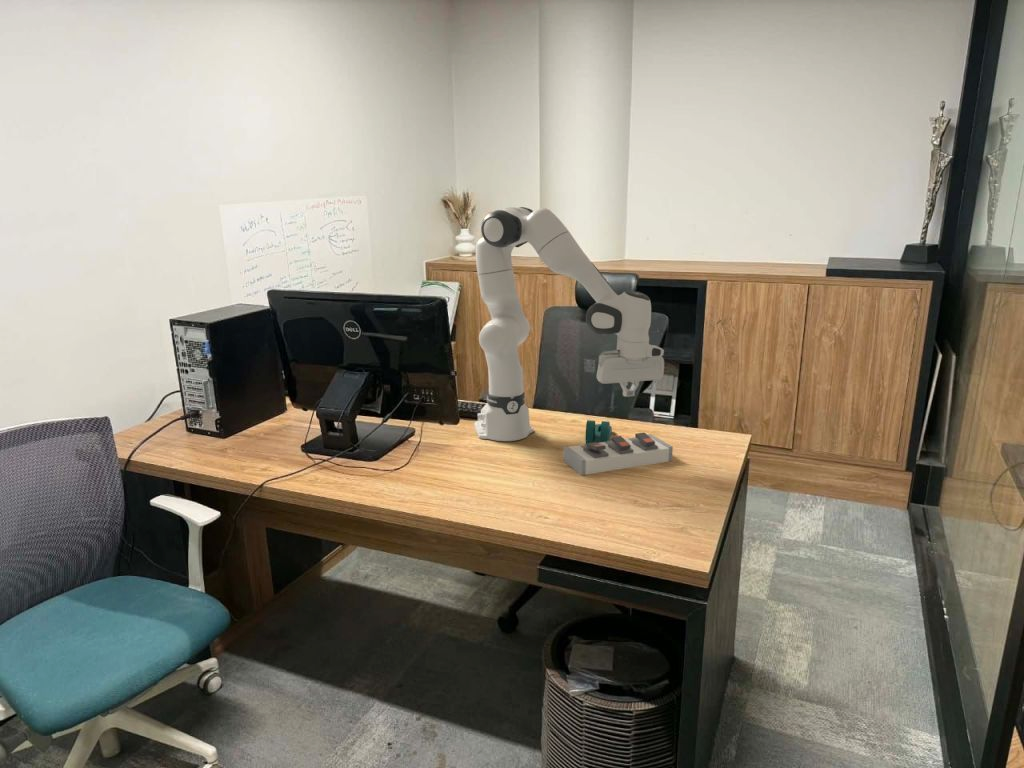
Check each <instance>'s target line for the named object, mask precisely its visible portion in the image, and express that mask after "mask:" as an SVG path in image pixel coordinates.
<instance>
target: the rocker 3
mask: <svg viewBox="0 0 1024 768" xmlns="http://www.w3.org/2000/svg"><path fill="white" fill-rule="evenodd" d="M634 436H635V437H636V438H637V439H638V440H639V441H640V442H642V443H643V444H644V445H645V446H649V445H655V441H654V440H653V439H651V438H650V437H649V436H648V434H647V433H646V432H640V433H639V432H637V433H635V435H634ZM635 437H634V438H635Z"/></svg>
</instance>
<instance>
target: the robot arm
mask: <svg viewBox="0 0 1024 768" xmlns="http://www.w3.org/2000/svg"><path fill="white" fill-rule="evenodd" d="M481 222H482V223H481V228H480V231H481V235H482V237H481V238H479V239H478V240H477V242H476V244H475V265H476V272H477V273H476V274H477V278H478V280H477V281H478V284H479V285H478V286H479V290H480V291H479V292H480V296H481V300H482V301H483V303H484V304H485V305H486V308H487V310H488V313H489V315H490V317H491V319H490V320H489V321H488V322H486V324H484V325H483V327H482V329H481V330H480V332H479V334H478V342H479V346H480V348H481V349H482V350H483V352H484V356H485V360H486V365H487V372H488V391H487V395H486V403H485V404H484V406H483V407H482V408H481V409H480V412H479V413H477V420H476V421H474V425H473V426H474V428H475V431H476V434H477V436H478V439H482V440H483V439H485V440H491V441H497V442H513V441H515V442H516V441H519V440H524V439H526V438H527V437H529V435H530V434H532V433H533V432H534V431H535V430H534V427H532V426H530V425H531V421H530V410H529V407H528V406H527V405H525V404H526V395H525V391H524V368H523V366H522V365H521V362H520V357H519V350H518V349H519V346H520V345H522V344H523V343H524V342H525V341H526V340H527V338H528V336H529V334H530V331H531V324H530V321H529V320H528V318H527V317H526V316H525V313H524V309H523V306H522V304H521V302H520V299H519V298H520V297H519V295H518V291H517V284H516V280H515V273H514V266H513V261H512V252H513V249H514V248H520V247H522V246H523V245H525V244H530V245H531V247H532V248H533V250H535V253H537V255H538V257H539V258H540V259H541V261H542V262H543V264H544V265H545V266H546V267H548V269H549V270H550V271H552V272H553V273H555V274H558V275H563V276H565V277H569V278H572V279H573V280H576V281H577V282H579V283H580V284H581V285H582V286H583V287H584V288H585V290H586V291H587V292H588V293H589V295H590V296H591V297H592V299H593V300H594V301H595V303H592V304H591V305H590V306H589V307H588V309H587V311H586V313H585V323H586V325H587V327H588V329H589V331H591V332H592V333H593V334H596V335H601V336H605V335H616V336H617V337H616V338H617V339H616V341H617V342H616V349H613V350H604V351H603V352H601V353H600V355H599V356H598V366H597V369H596V379H597V381H598V382H599V383H601V384H604V385H605V384H606V385H607V384H617V383H618V384H619V385H620V387H621V390H622V396H623V397H635V395H636V394H635V393H636V390H637V389H638V387H639V386H640V382H645V381H646V382H647V381H657V380H658V381H660V380H662V378H663V377H664V371H665V359H664V357H663V356H664V354H665V350H664V348H662V347H660V346H658V345H655V344H652V343H650V336H649V330H650V327H651V323H652V322H651V321H652V303H651V299H650V297H649V295H647V294H645V293H643V292H640V291H637V290H636V291H635V290H625V291H623V292H622V293H621V294H620V293H619V292H618V291H616V290H615V289H614V287H612V286H611V284H610V282H609V281H608V280H607V279H606V278H605V277H604V275H603V273H602V272H601V271H600V270H599V269H598V267H597V266H596V265H595V264H594V263H593V262H592V261H591V260H590V258H589V257H588V256H587V254H586V253H585V252H584V251H583V249H582V248H581V247H580V245H579V243H578V242H577V241H576V239H575V238H574V237H573V235H572V234H571V232H570V231H569V230H568V228H567V227H566V225H565V224H564V223H563V222H562V221H561V219H560V218H559V217H558V216H557V215H556V214H555V213H553V211H551V210H550V209H548V208H546V207H545V208H544V207H542V208H538V209H535V210H533V209H530V208H529V207H525V206H524V207H523V206H519V207H506V208H504V209H498V210H494V211H491V212H489V213H488V214H487V215H486V216H484V218H483V220H482V221H481ZM629 383H631V385H630V388H627V386H629V385H628V384H629Z"/></svg>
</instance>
